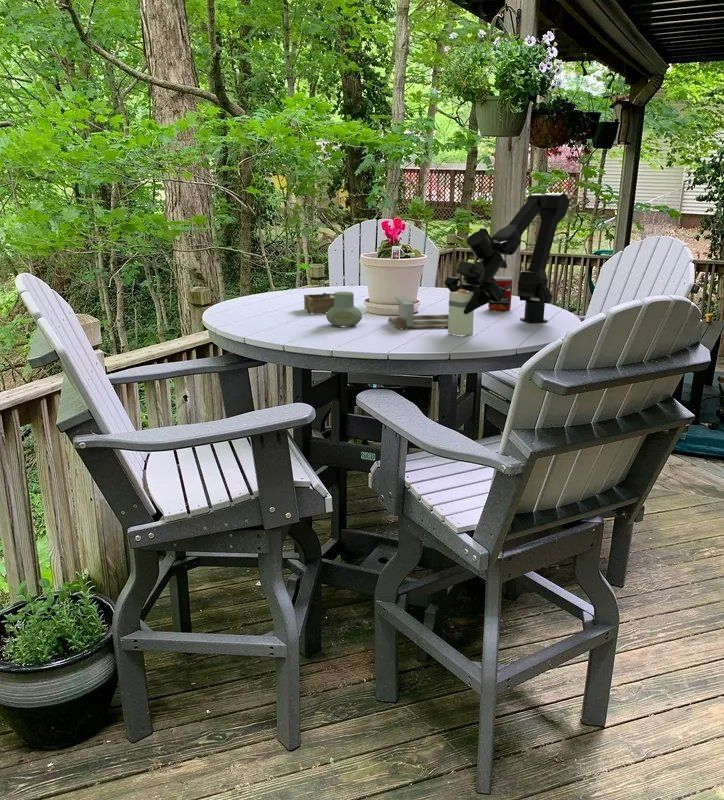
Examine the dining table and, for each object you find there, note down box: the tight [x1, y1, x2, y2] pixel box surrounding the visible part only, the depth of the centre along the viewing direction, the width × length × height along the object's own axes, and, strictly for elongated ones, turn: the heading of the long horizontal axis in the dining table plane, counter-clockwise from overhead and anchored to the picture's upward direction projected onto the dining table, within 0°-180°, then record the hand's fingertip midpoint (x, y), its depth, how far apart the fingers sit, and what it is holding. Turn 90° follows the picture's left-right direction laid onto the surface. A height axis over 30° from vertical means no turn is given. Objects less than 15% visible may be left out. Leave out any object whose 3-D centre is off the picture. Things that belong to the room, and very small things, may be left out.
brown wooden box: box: [303, 293, 335, 314], centre depth 235 cm, size 10×13×5 cm
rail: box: [394, 296, 415, 326], centre depth 211 cm, size 3×15×7 cm, turn 7°
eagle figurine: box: [317, 292, 334, 298], centre depth 235 cm, size 8×7×9 cm
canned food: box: [487, 275, 513, 312], centre depth 237 cm, size 8×8×11 cm
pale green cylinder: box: [447, 289, 475, 336], centre depth 196 cm, size 5×5×13 cm
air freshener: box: [325, 291, 363, 327], centre depth 210 cm, size 11×8×10 cm
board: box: [388, 313, 449, 330], centre depth 213 cm, size 22×16×2 cm
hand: (457, 312), depth 195 cm, fingers closed on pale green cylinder, 5 cm apart
